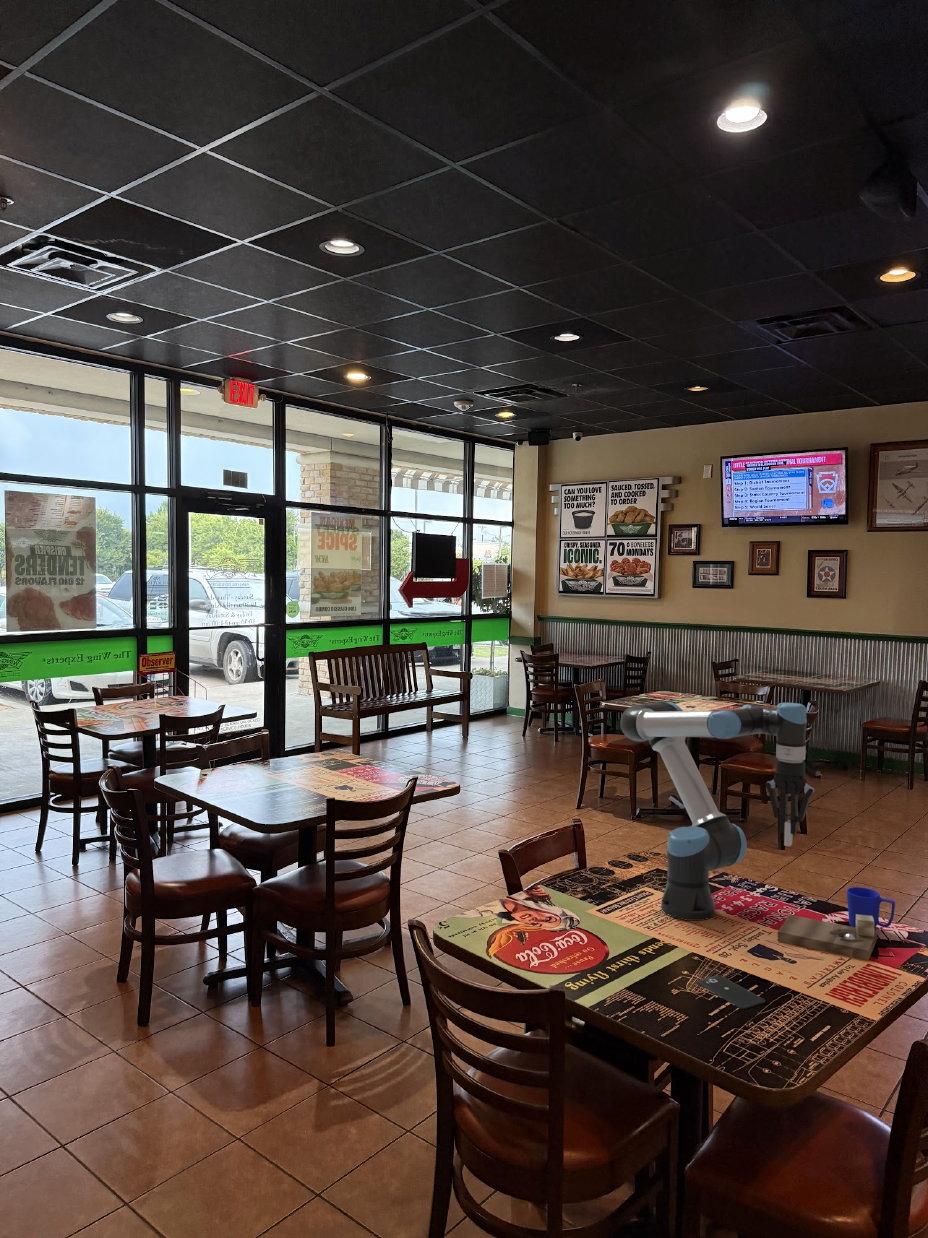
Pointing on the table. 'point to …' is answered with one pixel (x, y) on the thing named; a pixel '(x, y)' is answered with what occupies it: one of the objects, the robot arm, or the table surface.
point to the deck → (826, 937)
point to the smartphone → (731, 992)
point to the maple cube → (864, 925)
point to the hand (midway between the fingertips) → (788, 844)
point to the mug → (866, 905)
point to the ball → (849, 936)
